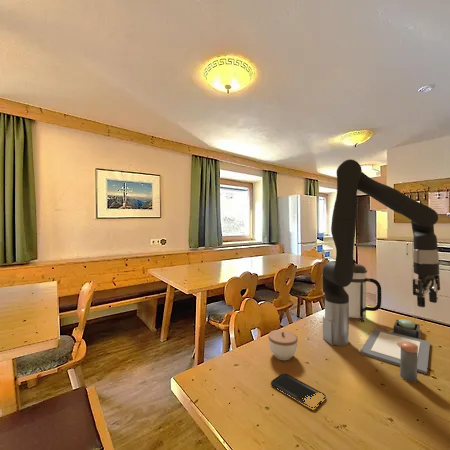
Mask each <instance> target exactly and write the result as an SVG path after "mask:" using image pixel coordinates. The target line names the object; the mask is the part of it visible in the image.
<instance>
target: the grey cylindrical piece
mask: <svg viewBox="0 0 450 450" xmlns="http://www.w3.org/2000/svg"><path fill="white" fill-rule="evenodd" d="M400 348H401V359H400V366H399V369H400V370H399V371H400V373H399V377H400V376H401V377H402V378H403V379H405V380H407V381H406V382H408V381H410V382H409V383H412V382H415V383H417V382H418V372H417V352H418V346H417V345H416V344H414V343H411V342H407V341H402V342H400ZM401 377H400V378H401ZM402 378H401V379H402ZM403 379H402V380H403ZM405 380H404V381H405ZM416 381H417V382H416Z"/></svg>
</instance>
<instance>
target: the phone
mask: <svg viewBox="0 0 450 450" xmlns="http://www.w3.org/2000/svg"><path fill="white" fill-rule="evenodd" d="M271 385H272V386H274V387H275V388H278V389H279V390H281V391H283V392H284V393H286V394H288V395H290V396H291V397H293V398H295V399H296V400H298V401H300V402H301V403H303V404H305V403H304V402H305V400H304V398H306V397H308V396H310V397H312V396H314V395H313V394H315V393H316V392H317V393H318V392H319V393H322V394H323V395H324V396H325V397H324V398H323V399H325V398H326V399H327V396H326V394H325V393H324V392H322V391H319V390H318V389H316V388H315V387H312V386H310V385H309V384H307V383H305V382H303V381H302V380H299V379H297V378H295V377H294V376H291V375H290V374H288V373H286V372H283V373H281V374H279V375H277V377H274V378H273V379H272V380H271V381H270V386H271ZM272 386H271V387H272ZM274 387H273V388H274ZM275 388H274V389H275ZM279 390H278V391H279ZM307 395H308V396H307ZM311 395H312V396H311ZM315 395H316V394H315ZM305 396H306V397H305ZM302 398H303V399H302ZM306 399H307V398H306ZM310 399H311V398H310ZM303 400H304V401H303ZM320 402H322V401H320ZM320 402H319V403H318V404H320ZM318 404H317V405H318ZM305 405H307V404H305ZM307 406H308V405H307ZM309 407H310V406H309ZM315 407H316V406H315ZM315 407H314V408H315ZM311 408H313V407H311Z"/></svg>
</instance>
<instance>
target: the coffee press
mask: <svg viewBox="0 0 450 450" xmlns="http://www.w3.org/2000/svg"><path fill="white" fill-rule="evenodd" d="M353 264H354V273H353V279H352V281H351V283H350V284H349V285H348V286H346V287H343V288H344V290H345V291H346V293H347V294H348V295H349V318H351V319H352V318H354V319H357V320H359V322H361V323H365V318H364V317H366V316H367V311H369V312H376V311H378V310H380V308H381V306H382V286H381V283H380V282H379V281H378V280H377V279H375V278H367V273H368V270H367V268H366V267H365V266H364V265H363V264H360V263H359V264H358V263H356V260H355V259H354V258H353ZM367 282H368V283H369V282H370V283H373V284H374V285H375V286H376V288H377V289H376V292H377V293H376V296H377V297H376V305H375V306H367Z"/></svg>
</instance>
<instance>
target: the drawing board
mask: <svg viewBox="0 0 450 450" xmlns="http://www.w3.org/2000/svg"><path fill="white" fill-rule="evenodd" d="M402 341H407V342H411V343H414V344H416V345H417V346H418V352H417V371H418V372H417V373H420V372H421V374H423V373H424V374H423V375H426V374H428V369H427V368H428V367H429V357H430V347H431V341H428V340H425V339H421V338H420V339H417V338H413V337H408V336H404V335H400V334H396V333H392V331H387V330H382V329H380V328H375V327H373V329H372V331H371V333H370V334H369V336H368V338H367V339H366V340H365V342H364V344H363V345H362V347H361V349H360V351H359V354H360V355H363V356H366V357H369V358H372V359H376V360H378V359H379V361H382V362H384V363H385V362H386V363H388V364H391V365H395V366H398V367H400V359H401V348H400V342H402Z"/></svg>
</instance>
